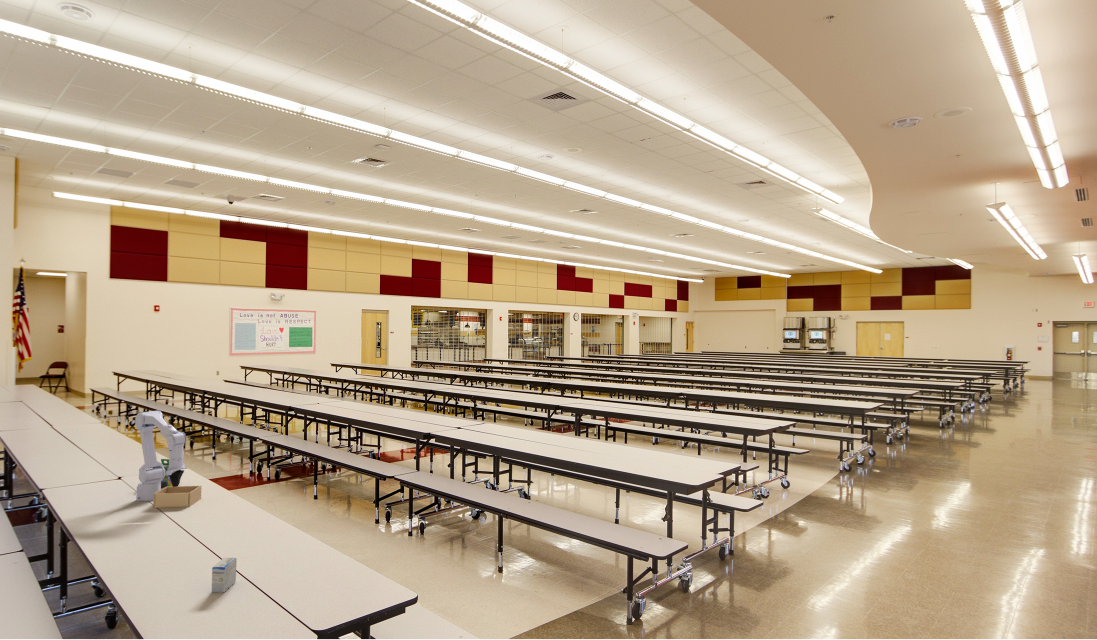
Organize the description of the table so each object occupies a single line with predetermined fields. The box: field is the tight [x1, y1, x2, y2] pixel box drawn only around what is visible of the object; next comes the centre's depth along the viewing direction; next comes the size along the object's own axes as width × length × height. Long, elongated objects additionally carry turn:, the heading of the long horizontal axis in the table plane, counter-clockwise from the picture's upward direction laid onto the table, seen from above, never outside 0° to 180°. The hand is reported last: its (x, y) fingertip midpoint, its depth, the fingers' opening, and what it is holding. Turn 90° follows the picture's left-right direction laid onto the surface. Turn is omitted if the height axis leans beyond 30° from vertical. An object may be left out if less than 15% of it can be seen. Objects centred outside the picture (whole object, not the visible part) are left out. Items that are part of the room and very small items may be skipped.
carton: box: [153, 485, 202, 509], centre depth 273 cm, size 16×12×7 cm
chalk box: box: [151, 458, 181, 489], centre depth 303 cm, size 9×9×15 cm
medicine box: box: [211, 557, 237, 593], centre depth 190 cm, size 8×4×9 cm, turn 5°
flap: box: [155, 493, 189, 508], centre depth 268 cm, size 14×1×6 cm, turn 100°
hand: (175, 486), depth 271 cm, fingers closed
